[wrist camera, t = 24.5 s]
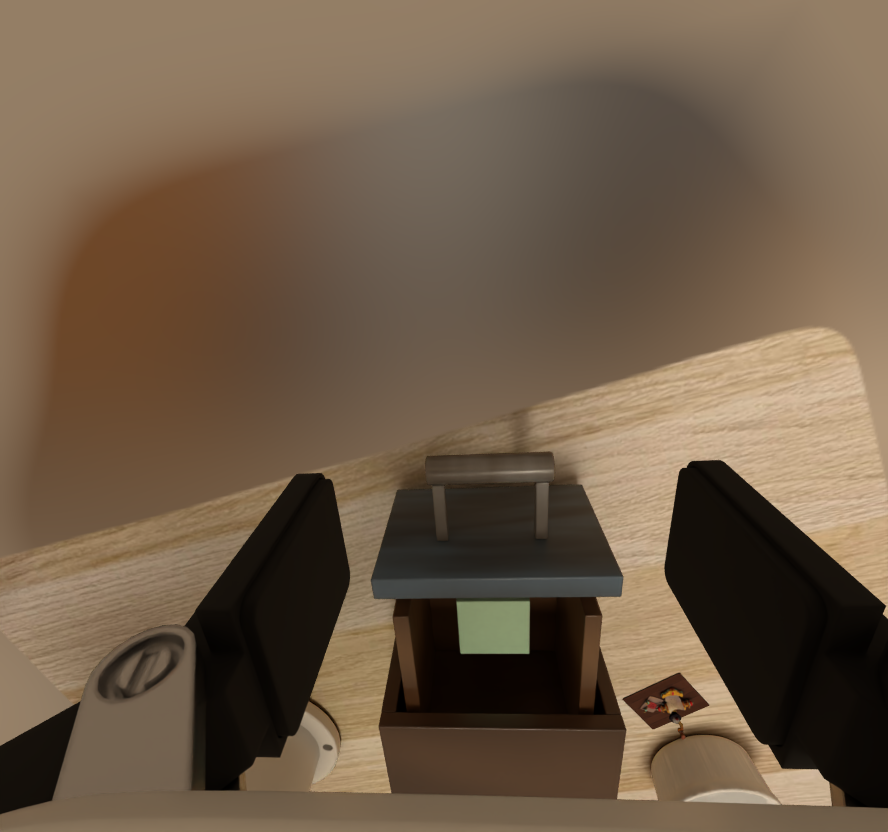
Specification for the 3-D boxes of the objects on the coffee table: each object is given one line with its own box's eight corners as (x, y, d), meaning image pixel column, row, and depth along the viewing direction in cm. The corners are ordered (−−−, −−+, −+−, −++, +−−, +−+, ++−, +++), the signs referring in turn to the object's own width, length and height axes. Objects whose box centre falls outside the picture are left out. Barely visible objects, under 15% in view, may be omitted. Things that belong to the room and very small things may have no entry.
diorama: (696, 704, 34) (710, 732, 32) (654, 722, 35) (665, 751, 33) (677, 683, 33) (690, 711, 31) (634, 702, 35) (644, 730, 33)
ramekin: (767, 775, 37) (803, 840, 33) (667, 802, 39) (689, 866, 35) (731, 714, 34) (765, 777, 30) (626, 747, 37) (645, 809, 33)
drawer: (387, 420, 25) (355, 492, 18) (586, 412, 24) (634, 484, 17) (416, 645, 32) (401, 762, 25) (572, 644, 31) (603, 766, 24)
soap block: (461, 600, 29) (460, 654, 25) (458, 552, 27) (456, 601, 24) (521, 600, 29) (529, 654, 25) (521, 551, 27) (529, 601, 23)
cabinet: (404, 589, 31) (378, 727, 23) (581, 587, 30) (626, 730, 22) (422, 721, 37) (406, 874, 28) (572, 723, 36) (606, 882, 27)
